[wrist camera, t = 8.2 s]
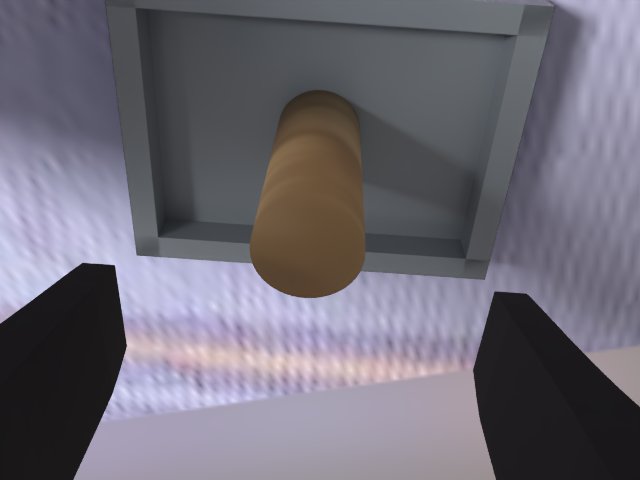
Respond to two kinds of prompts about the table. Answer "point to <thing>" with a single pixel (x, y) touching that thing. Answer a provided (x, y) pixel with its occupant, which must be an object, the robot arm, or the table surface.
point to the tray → (348, 82)
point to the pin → (312, 200)
